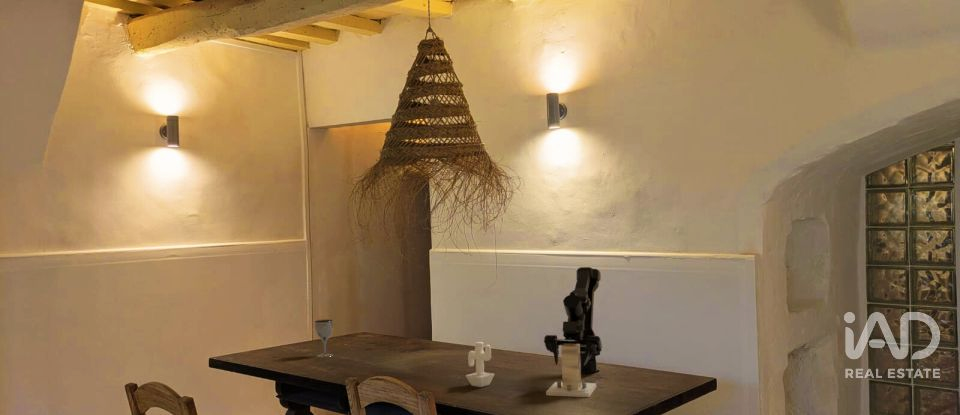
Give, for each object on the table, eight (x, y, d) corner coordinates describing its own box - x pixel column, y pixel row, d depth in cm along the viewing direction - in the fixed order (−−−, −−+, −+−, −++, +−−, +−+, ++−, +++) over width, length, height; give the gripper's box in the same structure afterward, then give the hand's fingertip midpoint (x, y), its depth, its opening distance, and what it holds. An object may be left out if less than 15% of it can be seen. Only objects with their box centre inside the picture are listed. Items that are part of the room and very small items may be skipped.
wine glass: (325, 353, 349) (324, 318, 349) (338, 354, 344) (337, 320, 344) (311, 356, 343) (310, 321, 342) (324, 358, 338) (323, 322, 338)
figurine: (476, 381, 285) (475, 339, 285) (497, 384, 279) (496, 341, 279) (463, 385, 279) (462, 342, 279) (484, 388, 273) (482, 344, 273)
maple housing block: (565, 385, 269) (564, 343, 269) (581, 385, 268) (579, 343, 268) (562, 388, 264) (561, 346, 264) (578, 389, 263) (576, 346, 263)
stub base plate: (555, 385, 275) (555, 377, 275) (596, 386, 271) (596, 378, 271) (546, 395, 262) (546, 386, 262) (589, 397, 257) (588, 388, 257)
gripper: (544, 311, 272) (537, 350, 262) (599, 311, 267) (594, 351, 256) (550, 330, 280) (544, 368, 270) (603, 331, 274) (599, 370, 264)
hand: (569, 364), depth 265 cm, fingers open, 9 cm apart
